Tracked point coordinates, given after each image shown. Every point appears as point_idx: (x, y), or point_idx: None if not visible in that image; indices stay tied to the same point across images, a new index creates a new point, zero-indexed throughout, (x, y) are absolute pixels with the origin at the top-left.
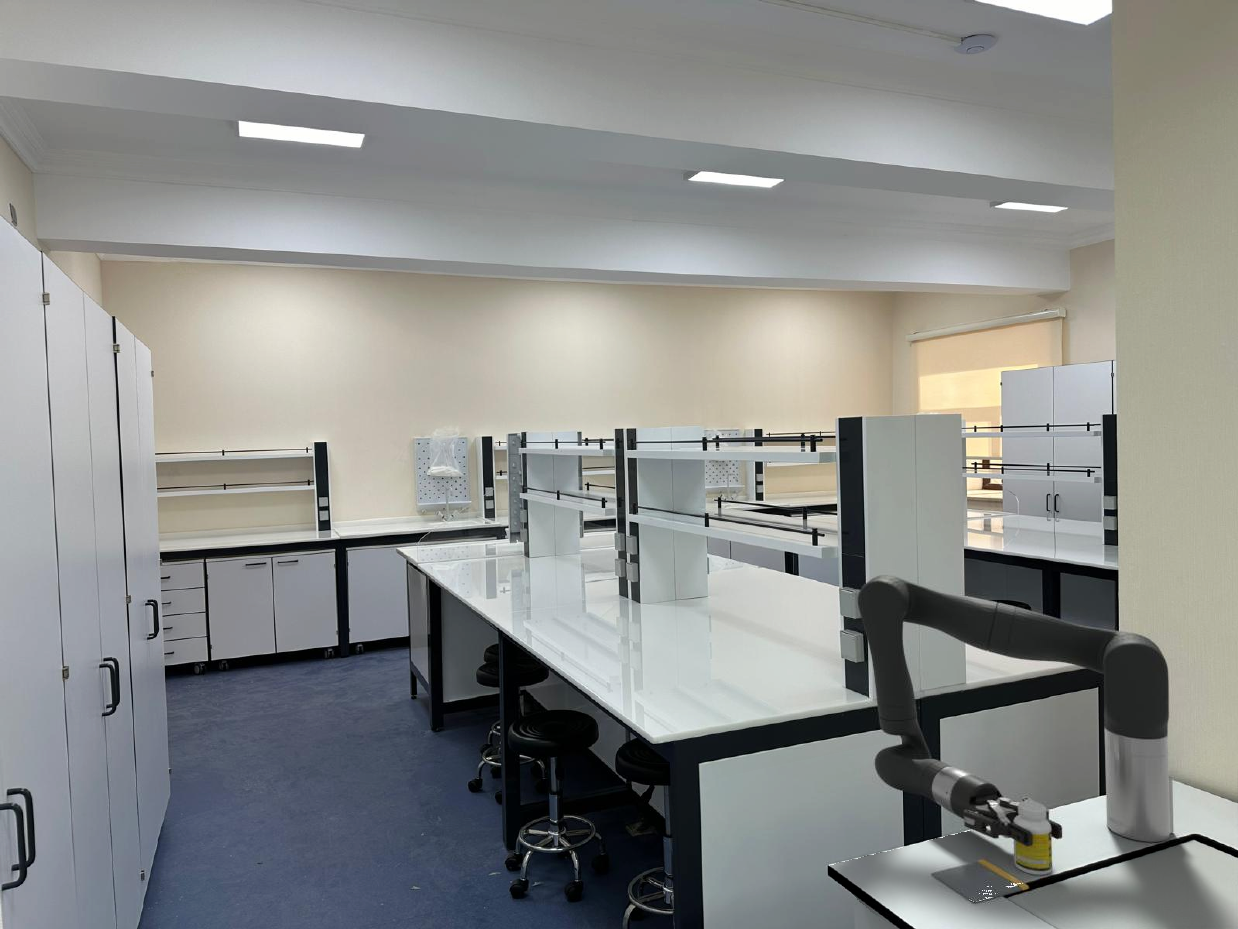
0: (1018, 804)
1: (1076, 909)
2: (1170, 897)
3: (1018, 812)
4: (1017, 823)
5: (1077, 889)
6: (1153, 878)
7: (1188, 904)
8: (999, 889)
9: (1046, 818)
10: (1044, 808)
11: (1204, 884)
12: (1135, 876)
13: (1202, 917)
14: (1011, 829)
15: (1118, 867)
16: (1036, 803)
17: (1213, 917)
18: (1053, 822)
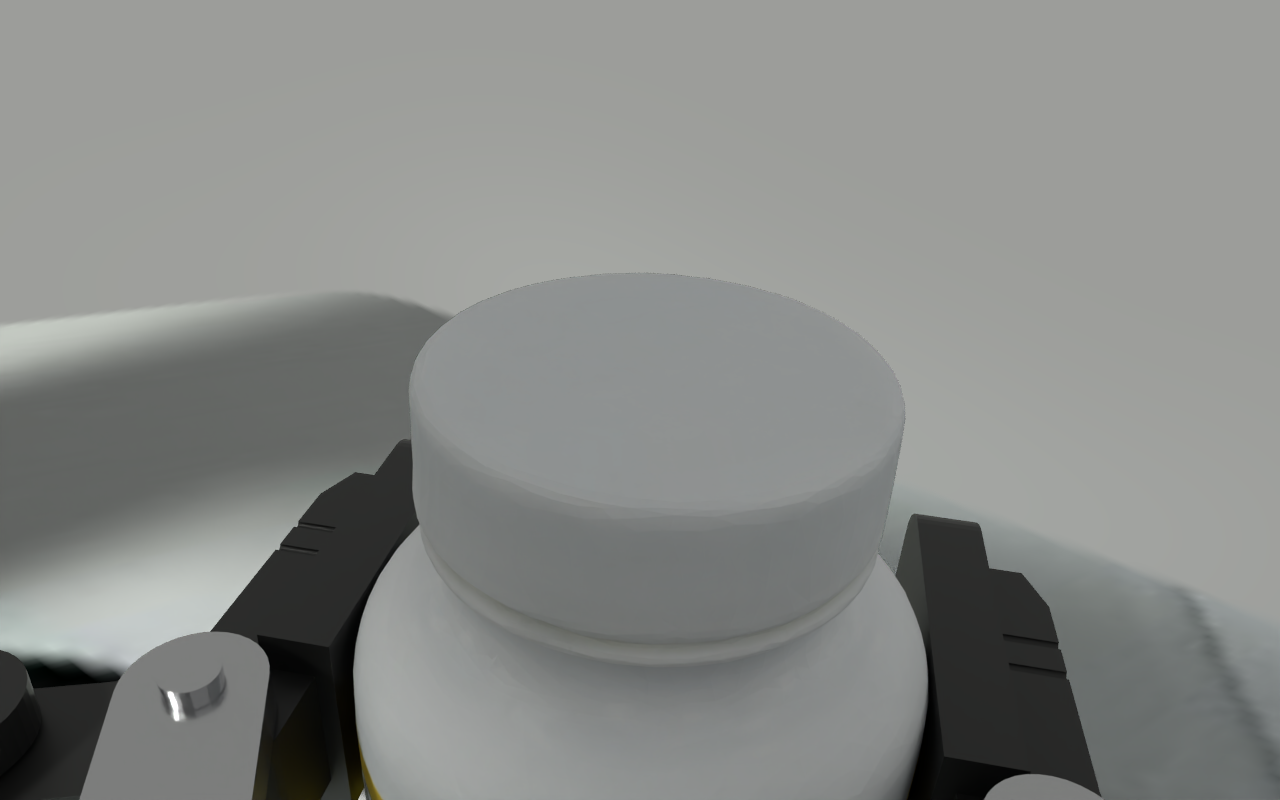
0: (836, 473)
1: (882, 542)
2: (319, 392)
3: (828, 606)
4: (922, 681)
5: None
6: (115, 473)
7: (338, 351)
8: None
9: (316, 570)
10: (573, 280)
11: (41, 363)
12: (151, 523)
13: (423, 315)
14: (1082, 729)
15: (51, 615)
16: (471, 366)
17: (389, 302)
18: (397, 484)
